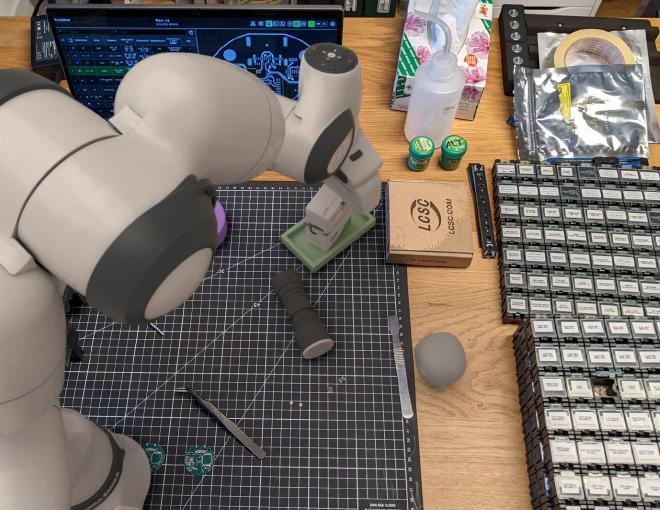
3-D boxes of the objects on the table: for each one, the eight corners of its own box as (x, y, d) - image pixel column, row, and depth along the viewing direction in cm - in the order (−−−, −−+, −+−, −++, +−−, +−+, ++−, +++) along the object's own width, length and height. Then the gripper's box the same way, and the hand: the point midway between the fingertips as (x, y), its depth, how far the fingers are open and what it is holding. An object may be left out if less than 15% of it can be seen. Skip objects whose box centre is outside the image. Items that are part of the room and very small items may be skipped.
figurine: (403, 357, 104) (412, 330, 94) (447, 350, 105) (461, 322, 94) (414, 404, 100) (425, 381, 90) (459, 397, 101) (475, 373, 90)
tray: (313, 273, 112) (313, 268, 110) (280, 241, 115) (280, 235, 113) (375, 224, 117) (376, 219, 115) (342, 195, 120) (342, 189, 118)
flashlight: (270, 287, 110) (267, 273, 106) (298, 276, 111) (296, 261, 107) (304, 362, 103) (303, 350, 99) (333, 349, 105) (334, 337, 100)
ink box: (329, 209, 118) (330, 172, 108) (352, 221, 117) (355, 184, 106) (305, 243, 114) (303, 207, 104) (328, 255, 113) (328, 220, 103)
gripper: (267, 108, 95) (272, 164, 107) (360, 190, 88) (354, 240, 100) (298, 88, 97) (300, 145, 109) (391, 166, 90) (382, 218, 102)
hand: (327, 191), depth 104 cm, fingers open, 8 cm apart
